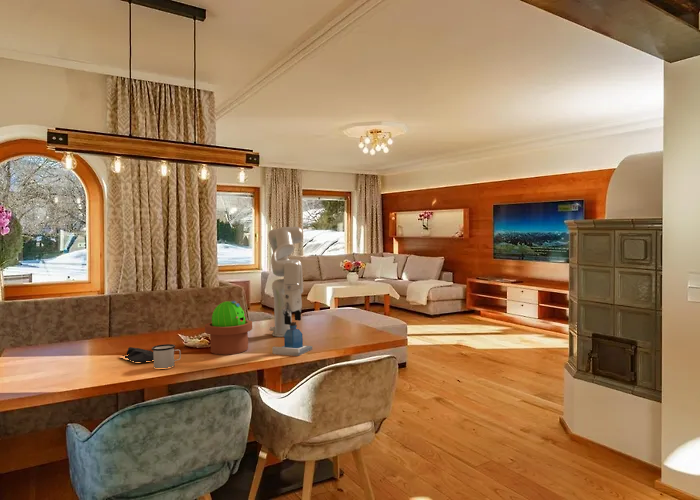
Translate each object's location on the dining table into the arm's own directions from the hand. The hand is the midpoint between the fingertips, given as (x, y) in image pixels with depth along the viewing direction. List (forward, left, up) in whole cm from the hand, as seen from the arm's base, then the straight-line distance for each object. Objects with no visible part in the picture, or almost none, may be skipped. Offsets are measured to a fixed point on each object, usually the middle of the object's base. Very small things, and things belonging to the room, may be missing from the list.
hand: (292, 322), depth 229 cm
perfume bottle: (0, 0, -12) cm, 12 cm away
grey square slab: (0, -2, -14) cm, 14 cm away
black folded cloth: (-61, -35, -15) cm, 72 cm away
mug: (-39, -43, -14) cm, 59 cm away
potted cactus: (-31, -10, -14) cm, 35 cm away
